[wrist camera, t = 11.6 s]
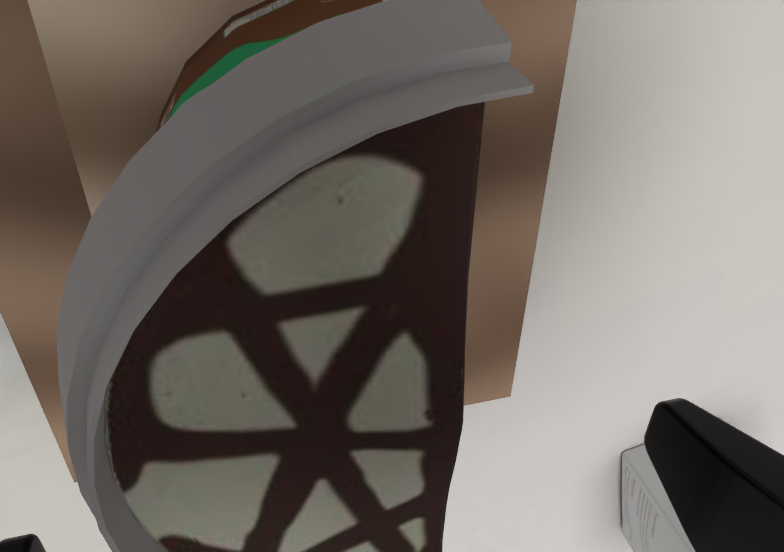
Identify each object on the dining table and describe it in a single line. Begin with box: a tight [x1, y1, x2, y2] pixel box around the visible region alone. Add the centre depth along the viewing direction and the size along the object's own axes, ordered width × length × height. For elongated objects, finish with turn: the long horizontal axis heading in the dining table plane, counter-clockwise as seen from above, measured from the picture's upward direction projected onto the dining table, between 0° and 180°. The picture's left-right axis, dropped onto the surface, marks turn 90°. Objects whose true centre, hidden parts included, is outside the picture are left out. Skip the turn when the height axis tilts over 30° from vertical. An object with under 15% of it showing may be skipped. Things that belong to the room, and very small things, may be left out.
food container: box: [56, 0, 534, 552], centre depth 13 cm, size 12×6×10 cm, turn 0°
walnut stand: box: [0, 0, 577, 482], centre depth 18 cm, size 22×16×3 cm
